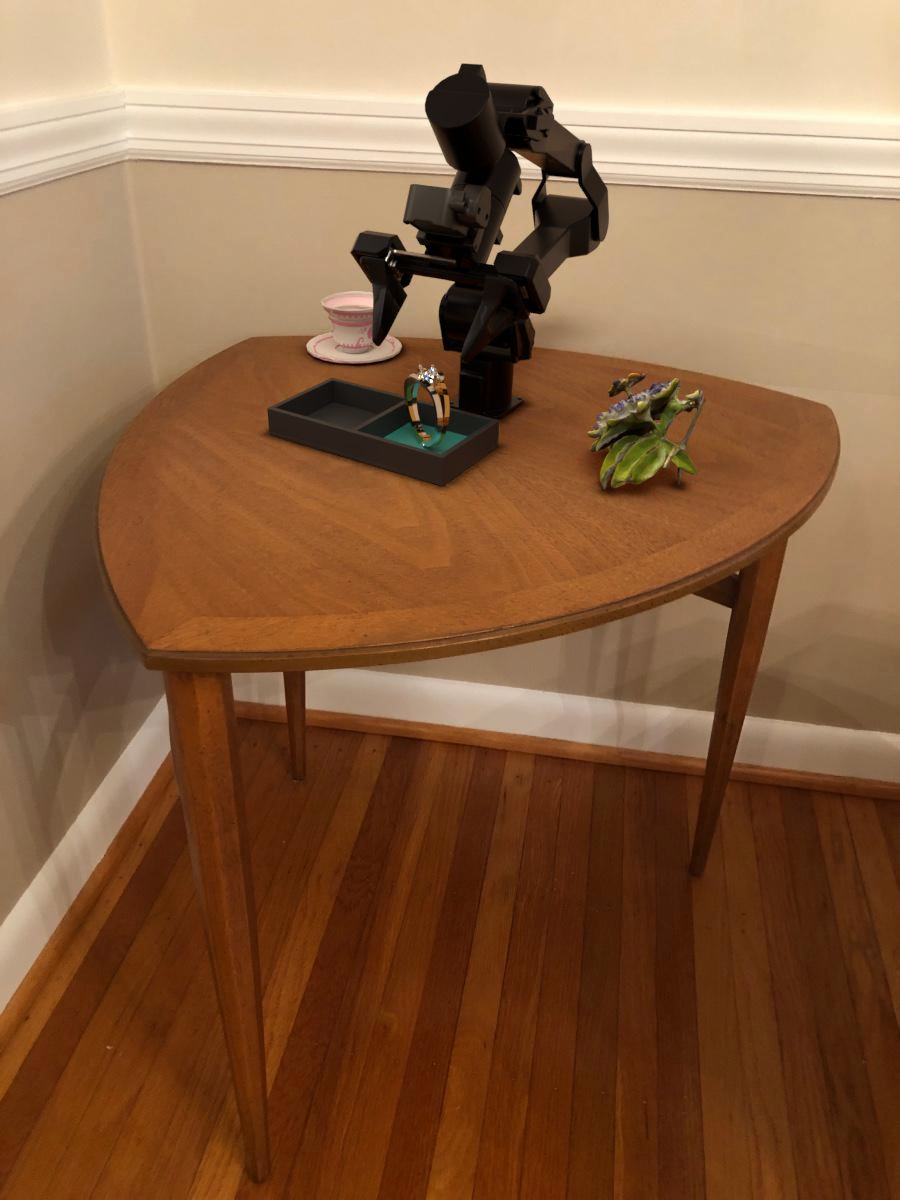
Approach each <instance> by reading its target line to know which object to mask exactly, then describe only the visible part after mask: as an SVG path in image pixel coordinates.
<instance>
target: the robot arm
mask: <svg viewBox="0 0 900 1200" xmlns="http://www.w3.org/2000/svg"><path fill="white" fill-rule="evenodd" d="M459 66H460V67H459V69H458V72H457V73H454V74H451V75H449V76H447V77H445V78H443V79H442V80H440V81H439V82H438V83H437V84H436V85H435V86H434V87H433V88H432V89H430V90H429V91H428V92H427V94H426V97H425V102H424V112H425V114H426V116H427V120H428V122H429V124H430V127H431V129H432V132H433V134H434V137H435V138H436V139H435V140H436V141H437V144H438V146H439V148H440V150H441V151H440V152H441V154H442V156H443V158H444V160H445V162H446V164H448V166H450V167H451V168H452V169H454V170H455V171H456V173H455V175H454V178H453V180H452V183H451V185H450V188H449V187H442V186H435V185H427V184H418V183H412V184H410V185H409V189H408V193H407V199H406V203H405V209H404V213H403V219H402V223H403V224H405V225H406V226H407V225H410V226H412V227H413V228H414V229H416V230H417V232H416V235H415V239H416V241H417V243H418V244H419V245H420V246H424V248H425V250H424V253H421V252H414V251H407V249H406V247H405V245H404V243H403V242H402V240H401V238H400V237H399V235H398V234H395V233H389V232H382V231H381V232H380V231H375V230H364V231H360V232H359V233H358V235H357V236H356V237H355V240H354V242H353V245H352V247H351V249H350V252H349V254H350V255H351V256H352V258H353V259H354V260H355V262H356V263H357V265H358V266H359V268H360V269H361V271H362V272H363V274H364V276H365V277H366V279H367V280H368V281H369V283H370V284H371V286H372V293H373V327H372V341H373V343H374V344H375V345H376V346H380V345H381V344H382V342H383V341H384V339H385V338H386V336H387V335H389V333H390V331H391V329H392V327H393V324H394V323H395V321H396V319H397V317H398V315H399V313H400V311H401V309H402V307H403V305H404V304H405V301H406V300H407V298H408V294H407V292H406V291H405V288H407V287H408V286H410V285H411V282H412V280H413V278H414V276H419V277H425V278H430V279H431V278H432V279H437V280H443V281H448V282H454V283H452V284H451V285H450V286H449V288H448V289H447V290H446V292H444V294H443V295H442V297H441V299H440V302H439V306H438V323H439V329H440V334H441V335H440V336H441V341H442V347H443V351H444V352H455V353H459V354H460V356H459V359H460V360H459V374H458V375H459V376H458V396H456V397H455V398H453V399H451V400H449V404H450V408H454V409H458V410H461V411H465V412H469V413H473V414H477V415H481V416H485V417H489V418H493V419H497V420H499V421H500V420H501V419H502V418H504V417H505V416H507V415H508V414H509V413H511V412H513V411H514V410H516V409H517V408H518V407H520V406H522V405H524V403H525V399H524V397H521V396H517V395H513V388H514V387H513V386H514V385H513V384H514V372H515V369H514V368H515V364H518V363H519V362H521V361H529V360H531V359H532V355H533V354H532V352H533V349H534V346H535V337H536V329H535V326H534V325H533V323H532V320H531V318H530V317H531V314H534V315H540V316H541V315H543V314H544V313H546V310H547V308H548V306H549V302H550V300H551V294H552V286H551V283H550V280H549V279H550V278H551V277H552V275H554V273H555V272H556V271H557V270H558V269H559V268H560V267H561V265H563V264H564V262H565V261H566V260H567V259H571V258H576V257H583V256H588V255H590V254H591V253H593V252H594V251H595V250H597V249H598V248H599V246H600V244H601V243H603V242H604V241H605V239H606V238H607V235H608V230H609V225H610V209H609V208H610V207H609V206H610V205H609V189H608V186H607V185H606V183H605V181H604V180H603V179H602V177H601V176H600V174H599V172H598V170H597V169H596V167H595V166H594V163H593V149H592V145H591V143H589V142H586V141H585V139H580V138H579V137H577V136H576V135H575V134H574V133H573V132H571V131H570V130H569V129H568V128H567V127H565V126H564V125H563V124H562V123H560V122H559V121H557V119H556V118H555V114H554V106H555V104H554V102H553V100H552V99H551V98H550V95H549V94H548V92H547V90H546V89H545V88H544V87H543V85H535V84H534V85H532V84H520V83H519V84H517V83H502V82H491V81H488V79H487V75H486V71H485V68H484V65H483V64H481V63H480V64H479V63H465V62H464V63H463V62H462V63H461V64H460V65H459ZM515 153H516V154H517V155H520V157H522V158H524V159H525V160H527V161H528V162H530V163H532V164H534V165H535V166H536V167H538V168H540V169H541V170H540V172H541V181H540V183H539V185H538V187H537V188H536V190H535V192H534V193H533V196H532V198H531V210H532V219H533V227H534V228H533V230H532V231H531V232H530V233H529V234H528V235H527V236H526V237H524V239H523V240H522V241H521V242H520V243H519V244H518V245H517V246H516V247H515V248H514V249H513V250H505V249H503V250H500V251H499V252H497V253H496V255H495V257H494V260H493V262H492V264H490V263H488V260H489V258H490V255H491V252H492V250H493V247H494V245H496V246H501V244H502V242H503V238H504V234H503V231H502V229H501V228H502V227H501V226H502V225H503V221H504V219H505V216H506V214H507V212H508V208H509V207H510V203H511V201H512V198H513V196H521V195H522V192H523V183H522V182H523V181H522V179H521V175H522V168H521V164H520V162H519V158H518V157H517V155H516V154H515ZM550 177H557V178H566V179H576V180H577V185H578V187H579V188H580V190H581V191H582V192H583V194H584V196H585V197H579V196H572V195H561V194H554V193H553V194H552V193H549V194H548V192H547V182H548V180H549V178H550Z"/></svg>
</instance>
